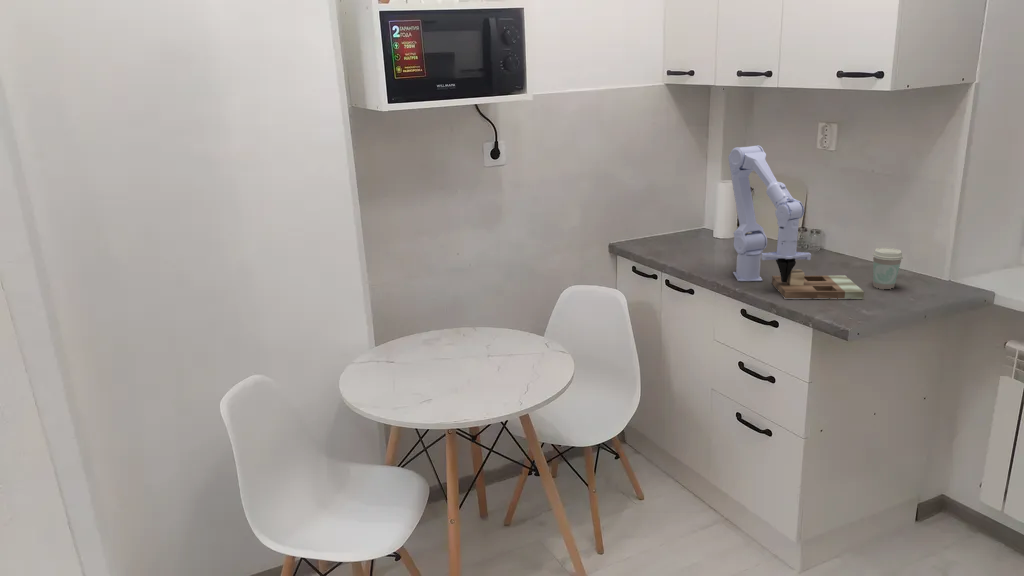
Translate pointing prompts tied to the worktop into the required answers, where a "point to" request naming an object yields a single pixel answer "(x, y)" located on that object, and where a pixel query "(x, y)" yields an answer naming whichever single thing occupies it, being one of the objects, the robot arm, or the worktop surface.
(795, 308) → the worktop surface
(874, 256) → the coffee cup
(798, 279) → the beech block
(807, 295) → the board
